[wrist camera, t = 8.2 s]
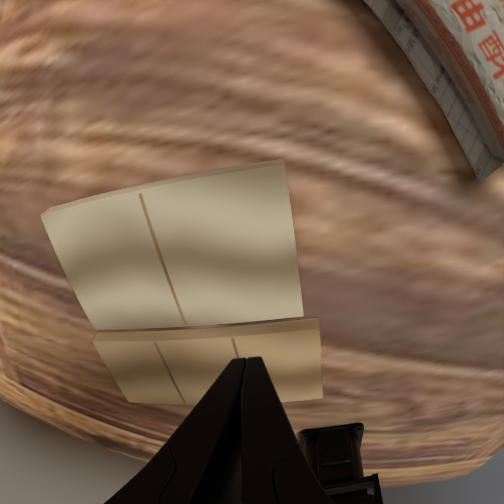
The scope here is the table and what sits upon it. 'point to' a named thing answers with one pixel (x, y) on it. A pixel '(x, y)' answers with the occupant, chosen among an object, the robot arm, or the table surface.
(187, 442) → the robot arm
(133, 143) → the table surface
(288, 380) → the laid board
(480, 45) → the packaged product
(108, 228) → the beige grooved panel
